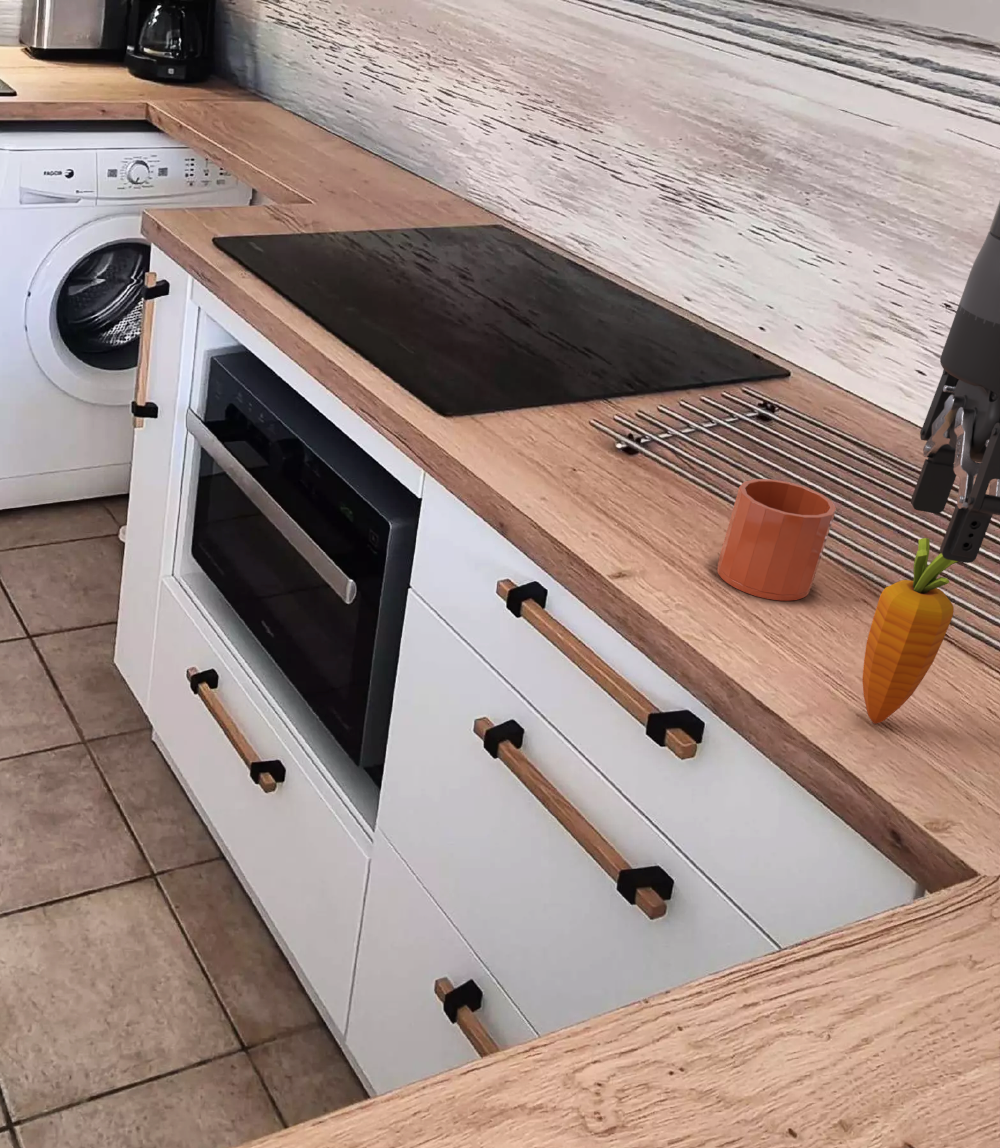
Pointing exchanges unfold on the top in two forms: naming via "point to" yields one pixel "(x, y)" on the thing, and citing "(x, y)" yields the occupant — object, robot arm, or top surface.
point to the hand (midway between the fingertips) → (939, 533)
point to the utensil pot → (775, 539)
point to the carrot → (905, 635)
